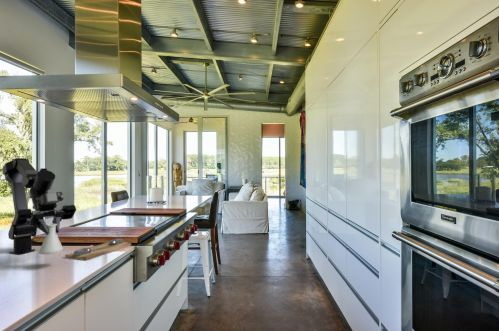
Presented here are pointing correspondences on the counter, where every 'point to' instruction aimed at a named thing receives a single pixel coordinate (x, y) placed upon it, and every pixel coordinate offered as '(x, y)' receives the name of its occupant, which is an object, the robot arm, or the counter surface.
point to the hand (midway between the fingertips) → (53, 232)
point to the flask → (51, 241)
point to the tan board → (98, 251)
